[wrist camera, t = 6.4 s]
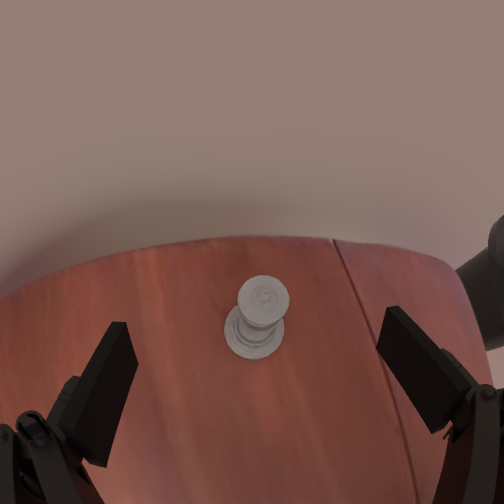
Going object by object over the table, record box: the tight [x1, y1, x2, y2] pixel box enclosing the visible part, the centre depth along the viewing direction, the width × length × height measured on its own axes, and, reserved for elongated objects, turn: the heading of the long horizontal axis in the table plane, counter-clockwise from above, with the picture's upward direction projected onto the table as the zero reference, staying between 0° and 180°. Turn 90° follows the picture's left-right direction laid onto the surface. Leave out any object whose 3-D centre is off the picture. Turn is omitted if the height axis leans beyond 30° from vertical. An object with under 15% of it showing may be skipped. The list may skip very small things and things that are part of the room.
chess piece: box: [224, 275, 289, 360], centre depth 16 cm, size 4×4×10 cm
